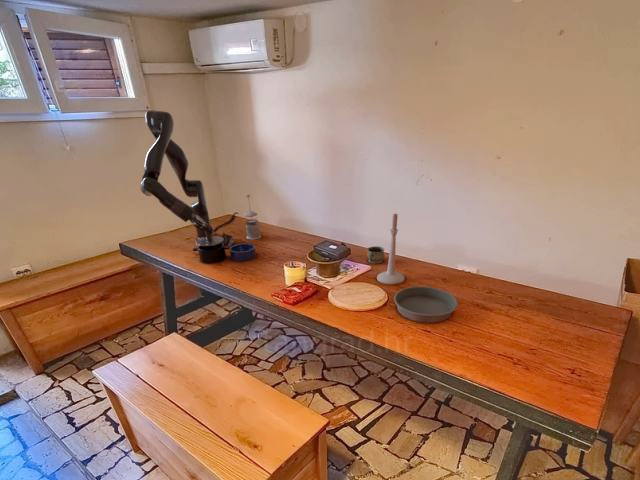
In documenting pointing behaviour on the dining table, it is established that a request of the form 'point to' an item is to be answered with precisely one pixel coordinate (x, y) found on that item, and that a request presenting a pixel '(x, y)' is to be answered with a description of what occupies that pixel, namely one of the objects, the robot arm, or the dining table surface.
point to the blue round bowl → (242, 252)
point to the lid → (209, 239)
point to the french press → (252, 225)
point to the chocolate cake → (227, 239)
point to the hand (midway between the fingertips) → (211, 232)
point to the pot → (212, 253)
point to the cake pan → (425, 304)
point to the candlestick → (391, 260)
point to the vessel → (375, 254)
